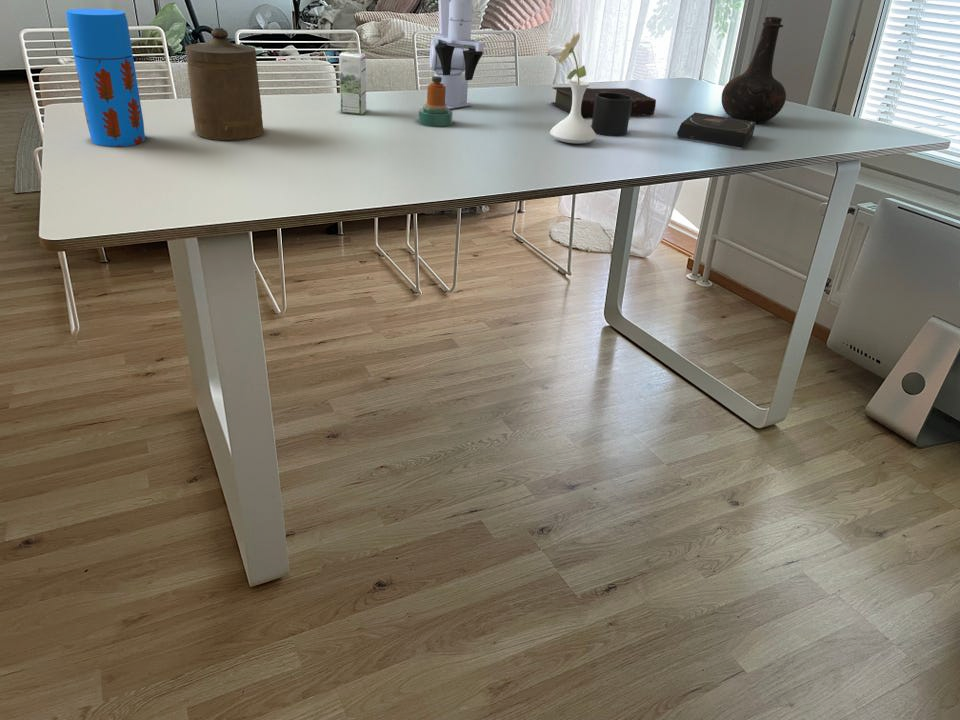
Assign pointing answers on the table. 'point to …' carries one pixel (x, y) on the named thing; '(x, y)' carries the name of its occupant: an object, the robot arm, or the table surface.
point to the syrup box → (352, 82)
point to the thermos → (106, 76)
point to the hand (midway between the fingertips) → (457, 77)
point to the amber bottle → (436, 92)
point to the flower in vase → (574, 105)
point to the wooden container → (224, 89)
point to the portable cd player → (716, 130)
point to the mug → (611, 114)
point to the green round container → (435, 115)
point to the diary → (639, 100)
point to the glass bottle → (757, 82)
